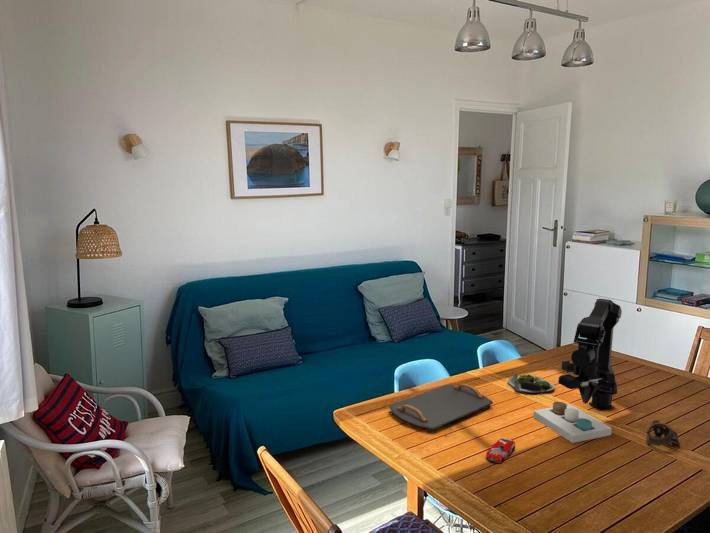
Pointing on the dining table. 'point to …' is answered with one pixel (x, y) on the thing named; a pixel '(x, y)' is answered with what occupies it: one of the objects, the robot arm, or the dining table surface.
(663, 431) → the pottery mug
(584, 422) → the key teal
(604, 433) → the keypad
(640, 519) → the dining table surface
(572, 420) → the key ivory
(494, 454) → the race car
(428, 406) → the serving board
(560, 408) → the key walnut
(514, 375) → the salad plate
